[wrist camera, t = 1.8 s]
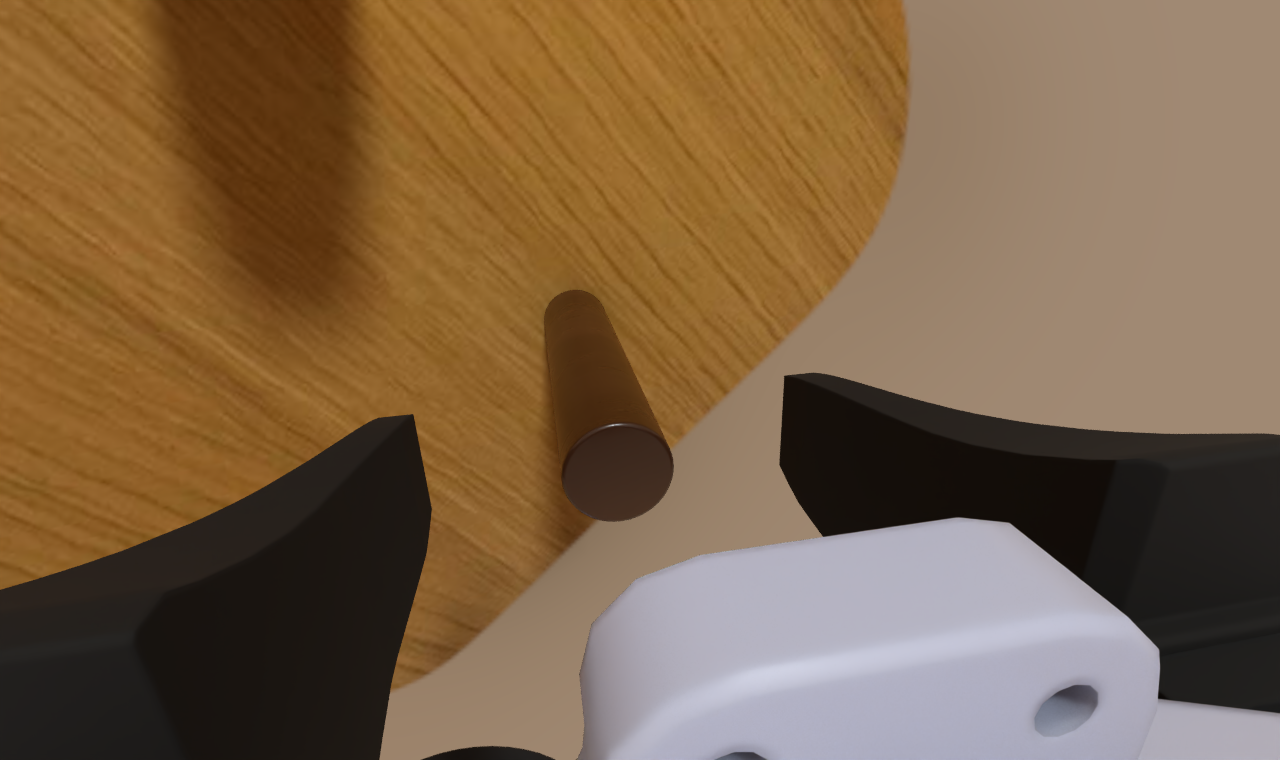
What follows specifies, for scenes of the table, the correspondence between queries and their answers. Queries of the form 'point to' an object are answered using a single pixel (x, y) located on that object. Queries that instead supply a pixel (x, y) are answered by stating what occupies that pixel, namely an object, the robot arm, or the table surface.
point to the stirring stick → (601, 415)
